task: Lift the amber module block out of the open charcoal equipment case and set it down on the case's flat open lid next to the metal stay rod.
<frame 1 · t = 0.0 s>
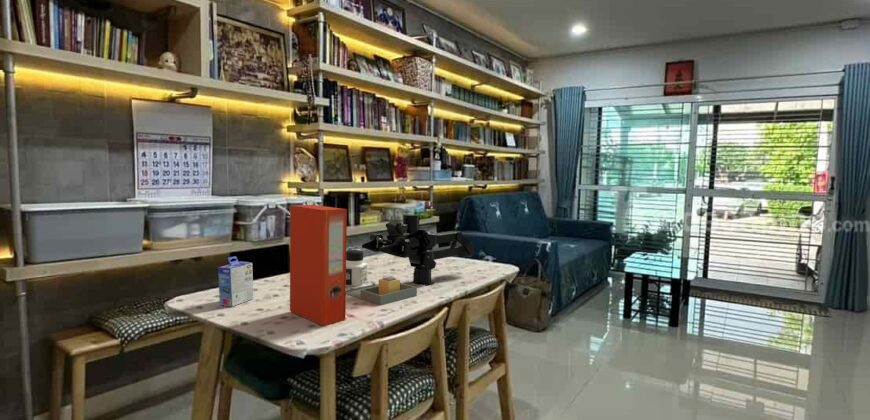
hand: (370, 247, 158), 17 cm above the table, tool horizontal, fingers open, 9 cm apart
file binder: (317, 316, 137), on the table
module: (389, 297, 156), point 1 cm above the table, touching case
ink cartridge box: (236, 302, 149), on the table
container: (354, 285, 174), on the table
lid: (369, 292, 163), on the table
case: (389, 298, 156), on the table
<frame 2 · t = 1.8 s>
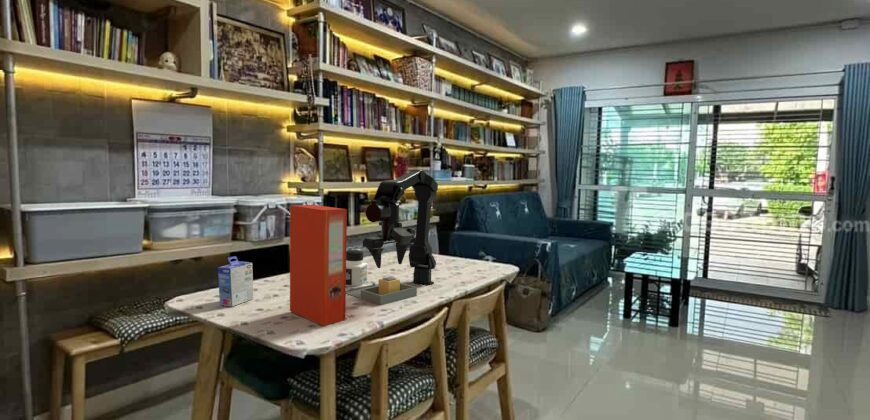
hand: (389, 266, 155), 11 cm above the table, tool pointing down, fingers open, 9 cm apart
nothing on the table moved.
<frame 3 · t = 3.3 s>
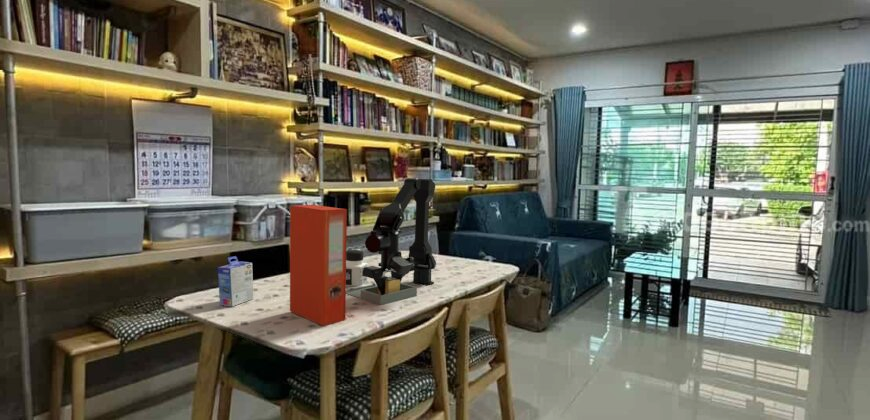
hand: (389, 294, 156), 2 cm above the table, tool pointing down, fingers closed on module, 5 cm apart
module: (389, 297, 156), point 1 cm above the table, touching case, gripper
everything else where it was.
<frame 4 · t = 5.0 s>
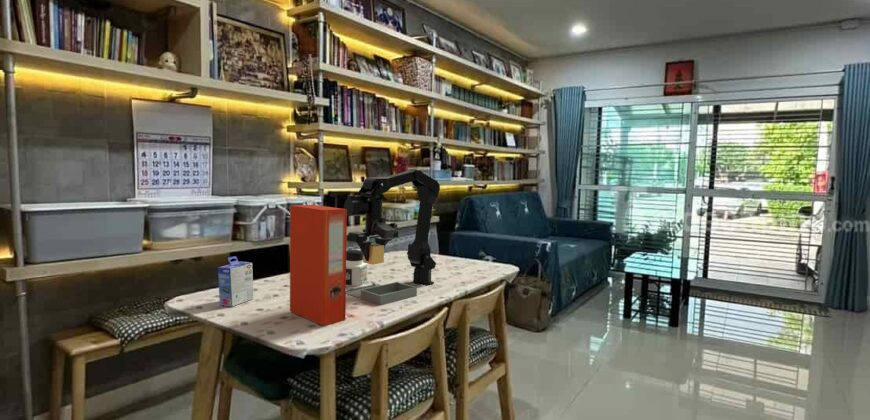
hand: (373, 259, 161), 12 cm above the table, tool pointing down, fingers closed on module, 5 cm apart
module: (373, 262, 161), point 11 cm above the table, touching gripper
everything else where it was.
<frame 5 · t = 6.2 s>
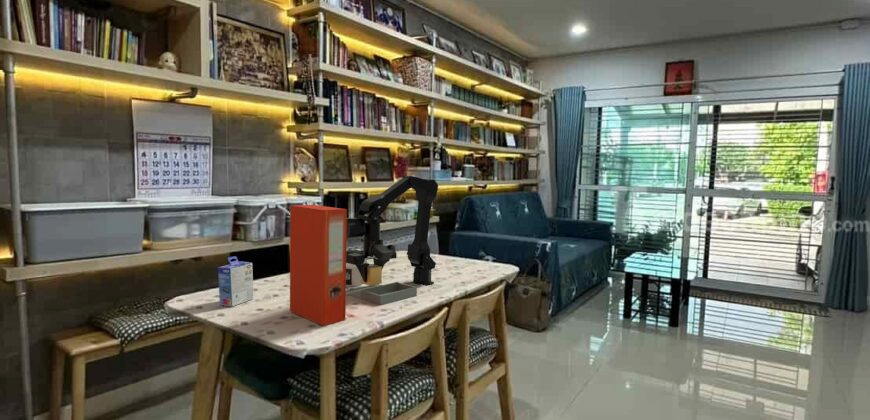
hand: (371, 280, 162), 4 cm above the table, tool pointing down, fingers closed on module, 5 cm apart
module: (371, 283, 163), point 3 cm above the table, touching gripper
everything else where it was.
when the fingers open (3 cm above the table, at t = 6.8 s): module drops 2 cm, resting on lid.
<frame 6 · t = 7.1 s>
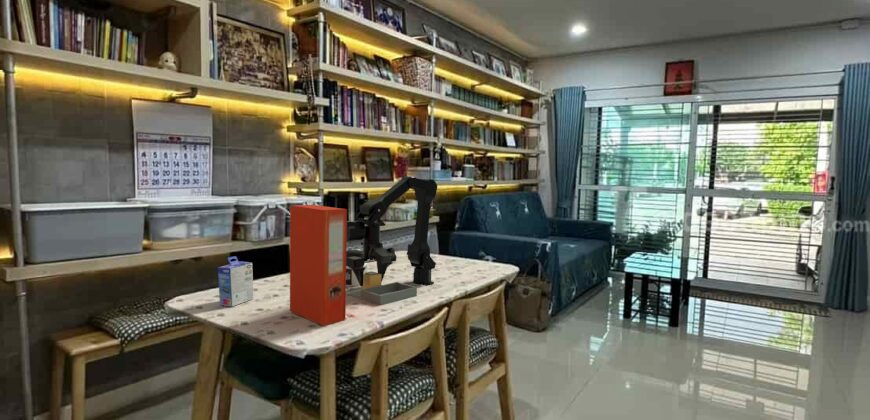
hand: (371, 283, 163), 3 cm above the table, tool pointing down, fingers open, 8 cm apart
module: (371, 290, 163), point 1 cm above the table, touching lid
everything else where it was.
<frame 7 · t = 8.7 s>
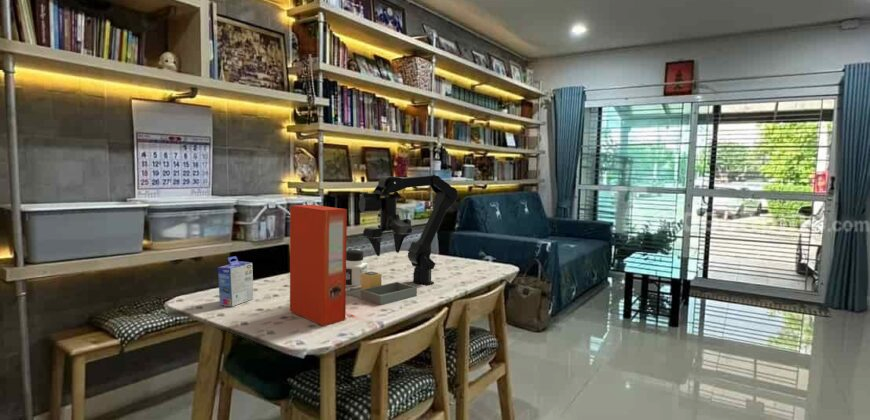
hand: (388, 254, 169), 12 cm above the table, tool pointing down, fingers open, 9 cm apart
nothing on the table moved.
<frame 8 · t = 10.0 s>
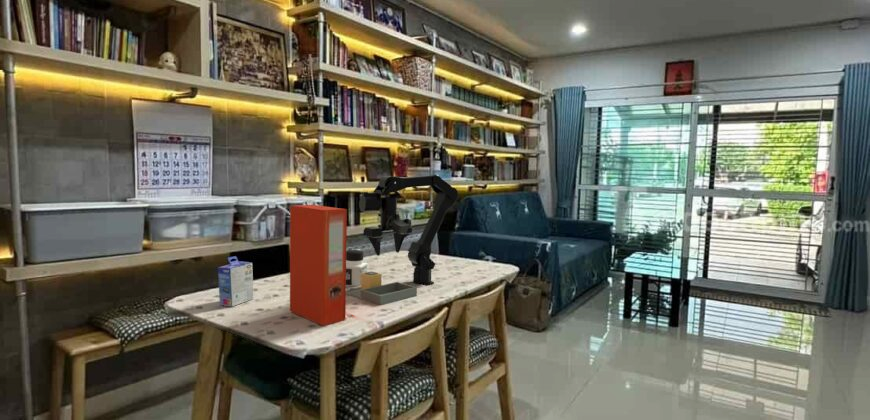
hand: (388, 253, 169), 13 cm above the table, tool pointing down, fingers open, 9 cm apart
nothing on the table moved.
at the end: module inside the target area on the lid (0.5 cm from its centre), point 0.8 cm above the lid's base; module tilted 0°; the gripper is holding nothing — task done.
